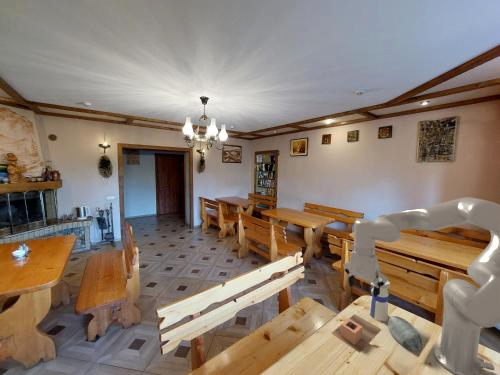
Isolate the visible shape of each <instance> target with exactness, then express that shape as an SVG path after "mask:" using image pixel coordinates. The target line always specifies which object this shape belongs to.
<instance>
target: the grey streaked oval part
mask: <svg viewBox="0 0 500 375" xmlns="http://www.w3.org/2000/svg"><path fill="white" fill-rule="evenodd" d="M387 321H388V322H387V327H388V331H389V333H390V335H391V337H392V338H393V340H395V341H396V342H397V343H398V344H399V345H401V346H402V347H404V348H406V349H408V350H409V351H413V352H420V351H421V349H422V346H423V341H422V338H421V335H420V332H419V331H418V329H416V328H415V326H414V325H413V324H411V323H410V322H409V321H407V320H406V319H405V318H403V317H400V316H396V315H392V316H390V317H389V319H388V320H387Z"/></svg>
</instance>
